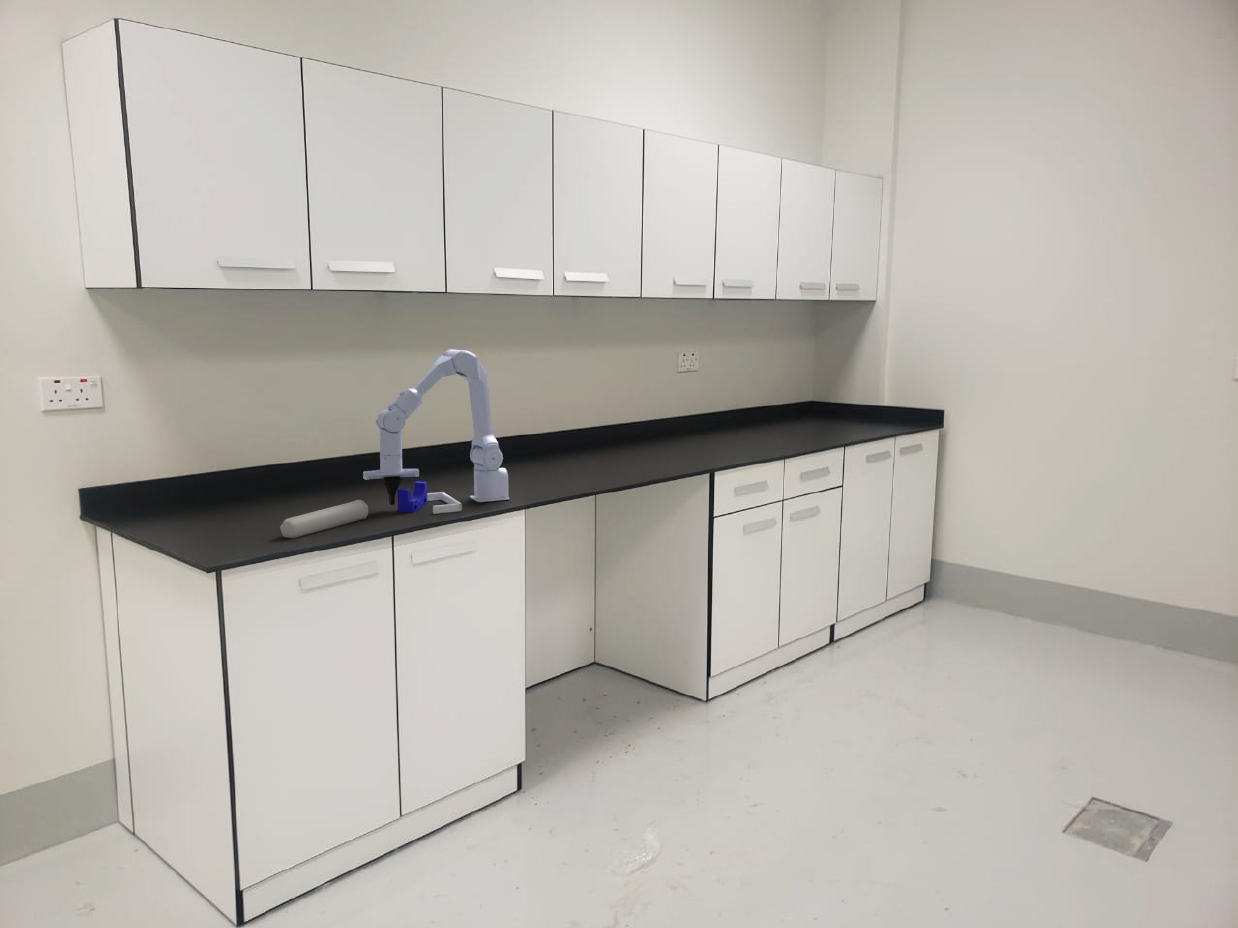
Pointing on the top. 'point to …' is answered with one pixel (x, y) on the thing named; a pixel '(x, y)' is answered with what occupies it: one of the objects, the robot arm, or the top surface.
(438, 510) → the bracket
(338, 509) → the tube
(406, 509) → the cable clip
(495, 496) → the robot arm
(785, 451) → the top surface
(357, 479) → the top surface
